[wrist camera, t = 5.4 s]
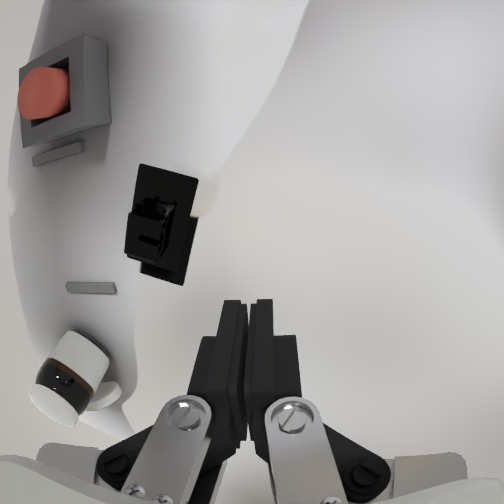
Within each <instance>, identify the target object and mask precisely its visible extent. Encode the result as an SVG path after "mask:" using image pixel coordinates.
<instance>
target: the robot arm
mask: <svg viewBox="0 0 504 504" xmlns="http://www.w3.org/2000/svg"><path fill="white" fill-rule="evenodd" d="M248 424H249V431H250V437H251V441H254V443H255V450H256V454H257V455H258V456H259V457H260V458H262V459H263V460H264V461H265V462H267V463H268V470H269V475H270V482H271V488H272V494H273V500H274V504H504V482H503V481H501V480H498V479H494V478H471V479H468V478H467V466H466V462H465V460H464V459H463V457H462V456H461V455H459V454H457V453H450V452H448V453H441V454H431V455H421V456H420V455H419V456H406V457H405V456H403V457H395V458H394V459H382V458H381V457H380V456H378V455H376V454H374V453H372V452H371V451H369V450H367V449H365V448H364V447H362V446H360V445H358V444H356V443H355V442H353V441H351V440H350V439H348V438H346V437H345V436H343V435H341V434H340V433H338V432H336V431H335V430H333V429H332V428H330V427H328V426H327V425H325V424H324V423H323V422H322V420H321V416H320V413H319V411H318V409H317V407H316V406H315V405H314V404H313V403H312V402H311V401H309V400H306V399H304V398H302V394H301V383H300V372H299V362H298V353H297V343H296V336H295V335H283V336H274V335H273V301H272V299H258V300H257V304H251V310H250V321H249V324H248V313H247V305H246V304H241V301H240V300H225V301H224V304H223V308H222V313H221V318H220V322H219V327H218V331H217V336H204V337H203V338H202V340H201V343H200V347H199V351H198V354H197V358H196V362H195V365H194V369H193V373H192V376H191V380H190V384H189V388H188V392H187V395H184V396H178V397H176V398H173V399H171V400H170V401H169V402H167V403H166V404H165V406H164V407H163V408H162V410H161V412H160V414H159V416H158V418H157V420H156V422H155V424H154V425H152V426H150V427H148V428H147V429H145V430H143V431H141V432H139V433H137V434H135V435H133V436H131V437H129V438H127V439H125V440H123V441H121V442H119V443H117V444H115V445H113V446H111V447H109V448H107V449H106V450H99V449H98V448H94V447H83V446H74V445H66V444H58V443H47V444H45V445H43V446H42V447H41V448H40V450H39V452H38V455H37V459H36V460H33V459H30V458H26V457H22V456H16V455H3V456H0V504H214V502H215V499H216V496H217V493H218V490H219V487H220V484H221V480H222V477H223V474H224V471H225V467H226V464H227V459H228V458H229V457H231V456H232V455H234V454H235V453H236V448H240V441H243V440H244V441H246V438H247V426H248Z"/></svg>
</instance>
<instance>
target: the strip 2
mask: <svg viewBox="0 0 504 504" xmlns="http://www.w3.org/2000/svg"><path fill="white" fill-rule="evenodd" d="M65 285H66V288H67V291H68V292H81V293H115V292H116V291H117V290H116V287H115V284H114V283H108V282H67V283H66V284H65Z"/></svg>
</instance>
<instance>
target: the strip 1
mask: <svg viewBox="0 0 504 504" xmlns="http://www.w3.org/2000/svg"><path fill="white" fill-rule="evenodd" d="M83 151H84V149H83V141H80V142H77V143H73V144H70V145H67V146H64V147H61V148H58V149H55V150H52V151H49V152H46V153H43V154H40V155H38V156H35V157H32V162H33V167H34V166H37V165H40V164H43V163H46V162H49V161H52V160H55V159H58V158H62V157H65V156H68V155H72V154H75V153H79V152H83Z"/></svg>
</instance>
